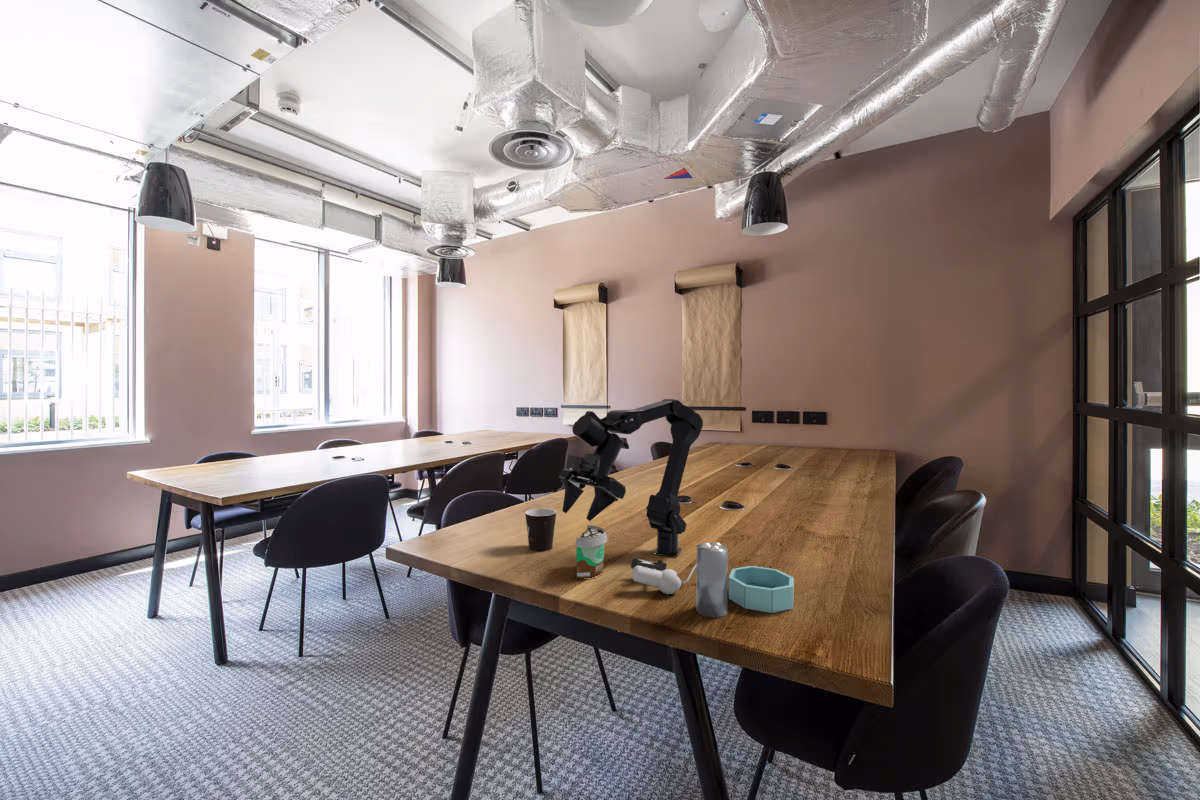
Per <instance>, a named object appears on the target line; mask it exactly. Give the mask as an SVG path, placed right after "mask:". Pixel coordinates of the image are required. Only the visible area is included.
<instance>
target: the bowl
mask: <svg viewBox="0 0 1200 800" xmlns="http://www.w3.org/2000/svg"><path fill="white" fill-rule="evenodd" d="M794 580H795V577H794V576H792V575H789V574H787V573H785V572H783V571H781V570H779V569H776V568H770V567H769V568H768V567H762V566H754V565H748V566H742V567H737V568H732V569H731V571H730V573H729V576H728V599H729V600H731V601H733V602H734V603H735V604H737V605H738V606H740V607H742V608H743V609H748V610H753V611H758V612H765V613H770V614H771V613H772V614H774V613H775V614H776V613H779V612H784V611H789V610H793V609H794V597H795V596H794V591H795V589H794V586H795V585H794V582H795V581H794Z"/></svg>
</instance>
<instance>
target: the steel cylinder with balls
mask: <svg viewBox="0 0 1200 800" xmlns="http://www.w3.org/2000/svg"><path fill="white" fill-rule="evenodd" d="M728 550H729V549H728V547H727V546H726V545H724V544H721V543H720V542H718V541H715V542H714V541H713V542H702V543H699V544H697V545H696V564H697V566H696V573H695V574H696V577H695V578H696V585H695V586H696V590H695V591H696V594H695V599H696V601H695V604H696V606H695V607H696V612H697V613H698V614H700V615H701V616H704V617H708V618H713V619H714V618H716V619H717V618H722V617H725V616H727V614H728V564H729V563H728V558H729V557H728V556H729V555H728Z"/></svg>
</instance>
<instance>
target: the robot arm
mask: <svg viewBox="0 0 1200 800" xmlns="http://www.w3.org/2000/svg"><path fill="white" fill-rule="evenodd" d="M661 418H665V420H666V421H667V422H668V423H669V424H670V434H671V438H672V443H671V447H670V450H669V454H668V459H667V462H666V465H665V470H664V473H663V477H662V481H661V484H660V487H659V491H657V493H655V494H650V496H649V498H648V503H647V506H646V508H645V509H646V517H647V520H648V522H649V527H650V528H651V529H655V530H656V548H655V549H654V550H653V551H652V554H653V553H656V554H655V555H657V554H662V555H661V556H664V555H668V556H667V557H671V556H677V555H678V556H679V555H680V554H681V552H682V551H681V550H683V549H682V548H680V547H679V535H682V534H683V533H685V532H686V528H687V523H686V522H685V520H684V519H683V518H682V516H681V514H680V512H681V505H680V501H679V497H678V495H679V491H680V487H681V484H682V480H683V476H684V472H685V468H686V464H687V461H688V457H689V453H690V448H691V446H692V445H693V444H694V442H695V441H696V440H697V439H698V438H699V436H700V434H701V432H702V429H703V425H704V421H703V418H702V417H701V414H699V413H698V412H696V411H695V410H694V409H692V408H691V407H689V406H686V405H685V404H683V403H682V402H681V401H680V400H678V399H676V398H664V399H662V400H660V401H657V402H653V403H649V404H647V405H644V406H640V407H637V408H633V409H614V410H613V409H612V410H610V411H608V412H607V414H606V416H604V417H602V418H600V417H599V416H597V414H596V413H595V412H594V411H593V410H592V411H591V410H587V411H585V413H584V414H583V415H582V416H580V417H579V418H578V419H577V420H576V421H575V422H574V424H573V426H572V434H573V435H574V436H576V437H577V438H578V439H580V440H581V441H582V442H583V443H585V444H587V445H588V447H592V448H594V447H595V448H594V450H593V452H592V453H590V452H589V453H584V455H583V456H578V455H569V454H568V455H567V458H566V463H565V467H564V469H563V468H562V470H561V472H560V474H559V475H558V477H559V478H560V480H561V483H563V487H564V496H563V497H564V498H563V503H562V504H563V505H562V509H561V510H562V512H563V513H564V514H567V513H568V512H569V511H570V509H571V508H572V507H573V506H574V505H575V503H576V502H577V501H578V499H579V498H580V496H582V494H583V493H584V490H583V489H584V488H586V487H587V486H589V487H593V490H594V498H593V500H592V502H591V504H590V507H589V509H588V512H587V515H586V520H587V521H589V522H590V521H592V520H593V519H594V518H595V517H597V516H598V515H600V513H602V512H603V511H604V510H605V509H607V508H608V507H609V506H611V505H612V504H613V503H615V502H619V499H621V500H624V497H625V496H626V493H627V489H626V485H624V484H622V483H621V482H620V481H618V480H617V479H616V478H614V477H611V476H609V475H610V473H611V471H616V469H617V466H616V465H615V462H616V461H617V458H618V455H619V454H620V452H621V449H622V450H629V449H630V446H629V443H628V438H627V437H620V436H619V435H618V434H620V435H621V434H622V435H631V434H633V433H634V432H636V431H639V429H640V428H642V426H643V425H644V424H646V423H649V422H653V421H656V420H658V419H661ZM678 556H677V557H678Z"/></svg>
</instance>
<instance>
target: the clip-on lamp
mask: <svg viewBox="0 0 1200 800" xmlns="http://www.w3.org/2000/svg"><path fill="white" fill-rule="evenodd" d="M667 565H668V564H667V563H666V562H664V560H662V559H657V562H655V561H650V560H646V559H642V558H638V557H633V558H632V559H631V562H630V568H631V569H632V571H631V578H632V580H633V581H634V582H635V583H636V582H637V583H639V584H643V585H646V586H647V585H648V586H652V587H654V588H658V589H659V590H660V591H661V592H662V593H663V594H665V595H669V594H671V595H673V594H674V592H677V591H678V590H680V588H681V586H682V584H686V583H688V582H689V581H690V578H691V577H692V575H693V573H694V571H695V569H697V563H695V565H694V566H693V567H692V569H691V571H690V573H689V576H688V577H687V579H686V580H684V581H683V580H682V579H680V577H679V576H678V574H677V572H676V571H675V570H673V569H670V568H668V569H667Z"/></svg>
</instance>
